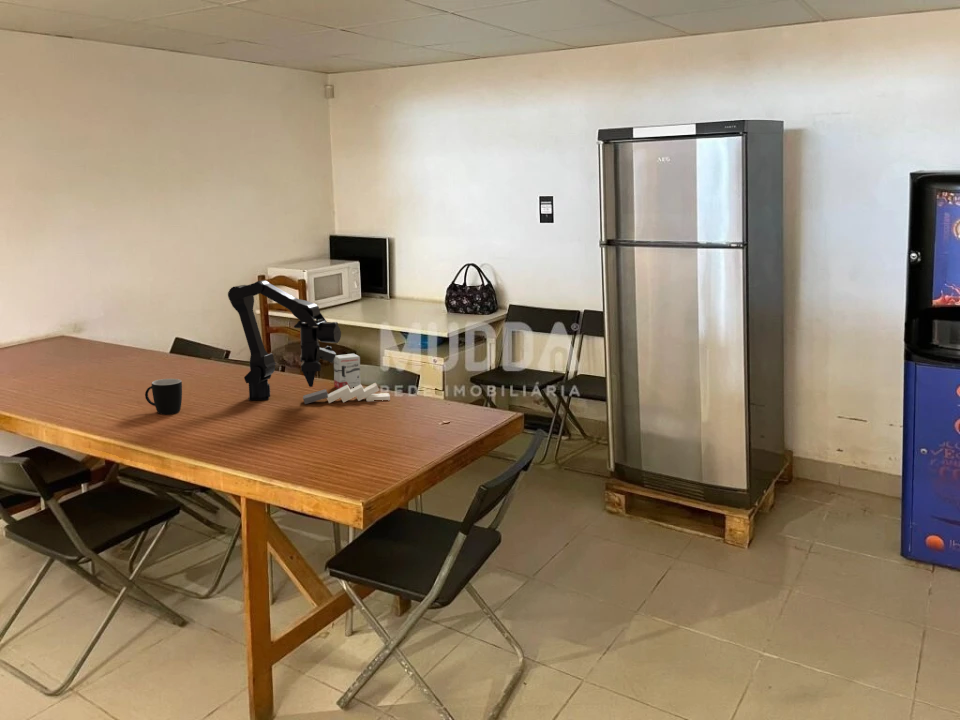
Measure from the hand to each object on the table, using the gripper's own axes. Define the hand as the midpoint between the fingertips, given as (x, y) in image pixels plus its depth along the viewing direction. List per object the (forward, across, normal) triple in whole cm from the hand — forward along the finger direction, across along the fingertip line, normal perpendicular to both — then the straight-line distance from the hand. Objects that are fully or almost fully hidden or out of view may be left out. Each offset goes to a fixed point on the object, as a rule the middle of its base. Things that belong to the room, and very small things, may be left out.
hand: (311, 386), depth 263 cm
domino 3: (+5, 0, -10) cm, 11 cm away
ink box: (+6, +20, -14) cm, 25 cm away
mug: (+6, -3, +46) cm, 47 cm away
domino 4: (+4, 0, -15) cm, 16 cm away
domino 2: (+5, 0, -6) cm, 7 cm away
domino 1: (+4, 0, +2) cm, 5 cm away
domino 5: (+5, 0, -18) cm, 19 cm away
